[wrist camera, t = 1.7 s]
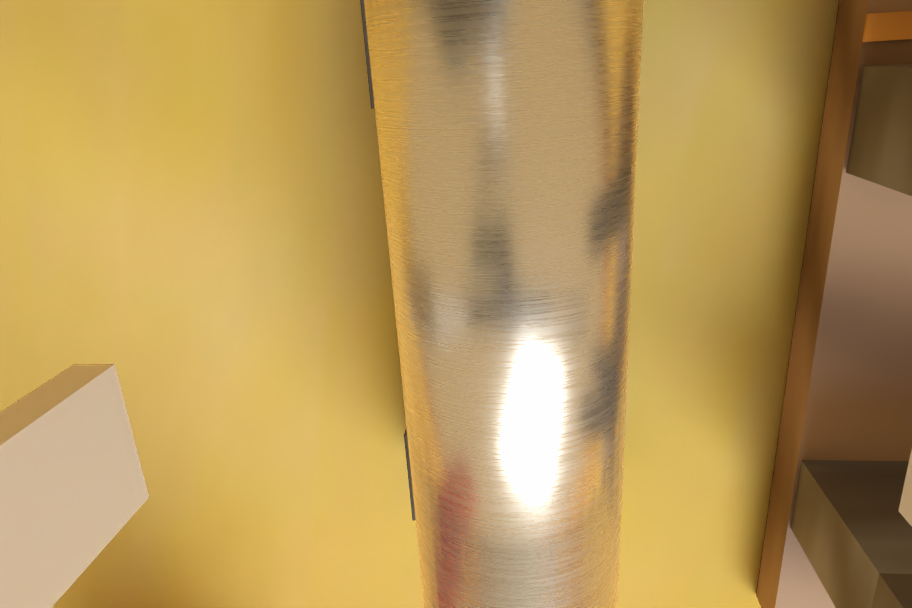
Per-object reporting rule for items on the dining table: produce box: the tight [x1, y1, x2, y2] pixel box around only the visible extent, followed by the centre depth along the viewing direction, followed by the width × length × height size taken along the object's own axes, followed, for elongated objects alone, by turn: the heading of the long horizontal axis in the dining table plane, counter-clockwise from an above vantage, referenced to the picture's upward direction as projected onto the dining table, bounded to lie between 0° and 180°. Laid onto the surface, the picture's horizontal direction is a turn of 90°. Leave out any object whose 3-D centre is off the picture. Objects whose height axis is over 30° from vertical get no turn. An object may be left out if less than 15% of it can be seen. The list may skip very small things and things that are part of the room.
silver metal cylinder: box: [364, 0, 643, 608], centre depth 14 cm, size 18×5×5 cm, turn 3°
